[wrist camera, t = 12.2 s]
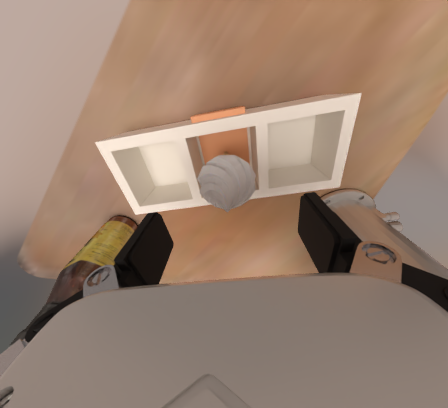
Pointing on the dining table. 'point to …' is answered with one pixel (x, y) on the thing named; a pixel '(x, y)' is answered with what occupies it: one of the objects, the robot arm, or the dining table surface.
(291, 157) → the compartment tray
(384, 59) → the dining table surface
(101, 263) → the sauce bottle
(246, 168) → the ice cream cone
